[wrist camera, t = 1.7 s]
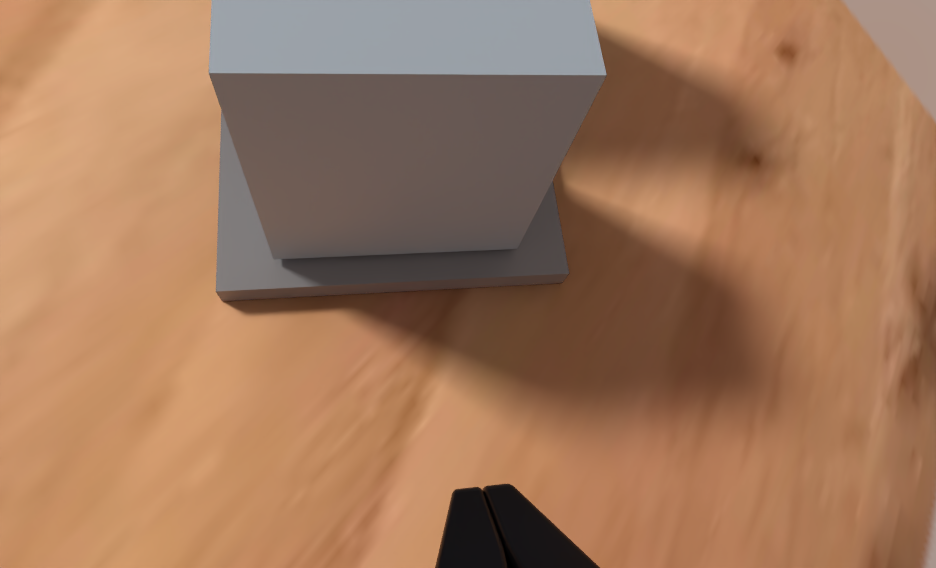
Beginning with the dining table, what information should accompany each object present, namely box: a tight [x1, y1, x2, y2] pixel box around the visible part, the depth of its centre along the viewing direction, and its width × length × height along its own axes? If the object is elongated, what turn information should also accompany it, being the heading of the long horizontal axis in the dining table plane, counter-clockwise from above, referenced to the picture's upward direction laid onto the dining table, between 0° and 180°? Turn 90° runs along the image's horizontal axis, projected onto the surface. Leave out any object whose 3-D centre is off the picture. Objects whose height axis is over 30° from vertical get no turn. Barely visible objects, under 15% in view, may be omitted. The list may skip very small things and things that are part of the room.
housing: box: [216, 109, 569, 301], centre depth 22 cm, size 15×13×12 cm
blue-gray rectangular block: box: [209, 0, 607, 259], centre depth 20 cm, size 5×9×10 cm, turn 96°
